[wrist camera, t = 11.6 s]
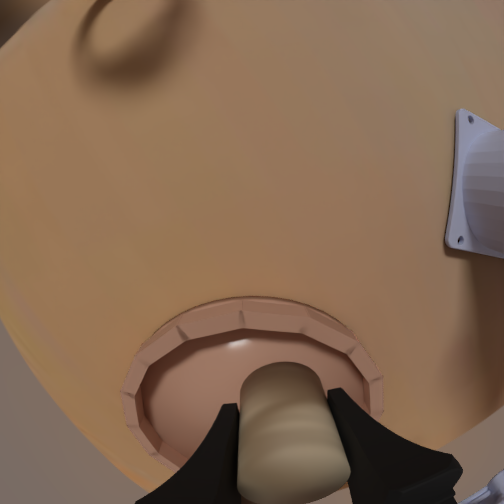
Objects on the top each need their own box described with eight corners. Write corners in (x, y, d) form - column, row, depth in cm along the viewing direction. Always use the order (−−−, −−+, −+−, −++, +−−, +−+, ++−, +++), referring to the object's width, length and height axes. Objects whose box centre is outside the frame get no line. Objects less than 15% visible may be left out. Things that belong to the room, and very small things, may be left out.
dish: (402, 306, 14) (420, 322, 12) (333, 469, 17) (338, 487, 15) (126, 277, 14) (109, 290, 12) (145, 455, 17) (139, 474, 15)
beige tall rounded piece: (301, 347, 12) (329, 439, 7) (332, 400, 13) (362, 483, 8) (224, 382, 13) (214, 476, 7) (264, 429, 13) (269, 513, 8)
